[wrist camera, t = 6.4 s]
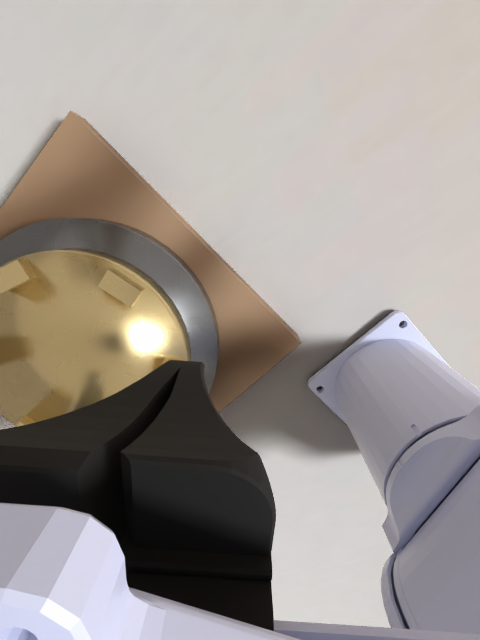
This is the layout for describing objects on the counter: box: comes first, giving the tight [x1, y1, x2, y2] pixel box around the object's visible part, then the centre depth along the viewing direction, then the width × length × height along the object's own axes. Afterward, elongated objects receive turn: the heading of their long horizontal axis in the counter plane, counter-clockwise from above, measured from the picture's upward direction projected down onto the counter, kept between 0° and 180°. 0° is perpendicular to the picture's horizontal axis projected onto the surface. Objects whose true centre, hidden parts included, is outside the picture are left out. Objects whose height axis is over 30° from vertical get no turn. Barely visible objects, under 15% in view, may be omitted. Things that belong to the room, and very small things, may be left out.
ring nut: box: [0, 248, 191, 427], centre depth 15 cm, size 12×12×6 cm
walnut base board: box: [0, 111, 301, 413], centre depth 21 cm, size 18×18×2 cm
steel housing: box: [0, 218, 219, 393], centre depth 19 cm, size 15×15×2 cm
